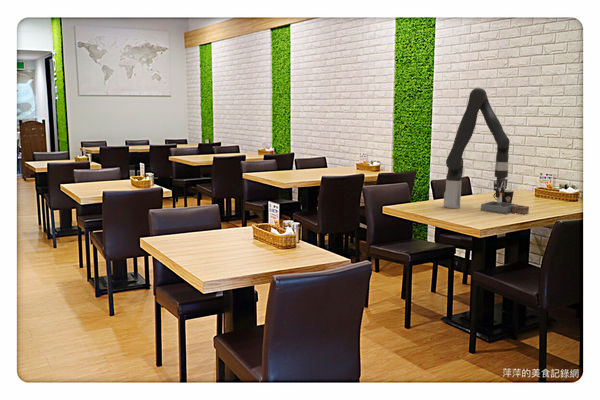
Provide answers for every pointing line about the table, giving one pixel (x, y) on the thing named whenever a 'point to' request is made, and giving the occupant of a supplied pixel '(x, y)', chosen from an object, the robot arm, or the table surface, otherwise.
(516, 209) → the pin block
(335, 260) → the table surface
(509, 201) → the coffee mug
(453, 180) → the robot arm
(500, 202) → the stop pin
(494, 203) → the tray
